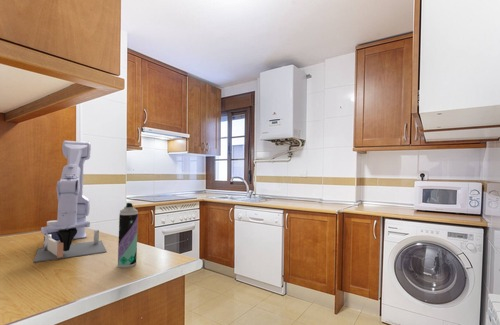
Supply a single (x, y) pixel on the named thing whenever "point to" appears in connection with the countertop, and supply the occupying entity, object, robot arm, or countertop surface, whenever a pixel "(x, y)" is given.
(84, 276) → the countertop surface
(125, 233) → the spray can
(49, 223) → the pill bottle
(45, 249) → the posts
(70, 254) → the mat
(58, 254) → the gate
